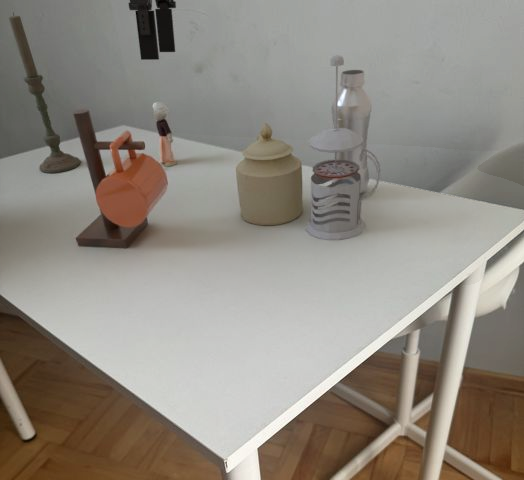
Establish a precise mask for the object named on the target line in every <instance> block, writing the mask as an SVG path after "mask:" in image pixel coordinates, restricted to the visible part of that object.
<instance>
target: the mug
mask: <svg viewBox="0 0 524 480" xmlns="http://www.w3.org/2000/svg"><path fill="white" fill-rule="evenodd" d="M126 141H134V140H133V137H132V133H131V131H129V130H124V131H123V132H122V133H121V134H120V135H119V136H118V137H117V138H115V139H114V142H112V143H111V144H110V146H109V148H110V150H109V151H110V155H111V159H112V162H113V165H114V168H113V169H112V170H110V172H109V173H108V174H106V177H105V178H104V179H103V180H102V181H101V182H100V184H99V185H98V187H97V189H96V195H95V200H96V203H97V207H98V208H100V209H99V211H100V210H101V212H102V213H103V214H104V215H105V216H106V217H107V218H108V219H109V220H110V221H112V222H113V223H115V224H117V225H119V226H122V227H135V226H138V225H139V224H141V223H142V222H143V221H144V219H145V218H146V217H147V218H148V215H150V213H152V211H153V210H154V208H155V207H156V205H158V203H159V202H160V201H161V199H162V198H163V197H164V195H165V194H166V193H167V192H168V191H167V190H168V186H169V181H168V176H167V172H166V171H165V169H164V167H163V166H162V163H161V162H160V163H159V161H158V160H157V159H155V158H154V157H153V156H151V155H148V154H145V153H143V152H136V150H127V153H128V155H126V156H125V157H124V158H123V159H121V155H120V153H119V150H118V148H119V147H120V146H121V145H122V144H123V143H125V142H126ZM101 212H100V213H101Z"/></svg>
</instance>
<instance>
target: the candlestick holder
mask: <svg viewBox="0 0 524 480" xmlns="http://www.w3.org/2000/svg"><path fill="white" fill-rule="evenodd" d="M8 21H9V24H10V27H11V31H12V33H13V37H14V40H15V43H16V47H17V50H18V52H19V56H20V59H21V62H22V65H23V68H24V72H25V74H26V76H25V77H23V81H24V83H26V84H27V85H28V87H27V91H28V92H29V94H31V95H33V96H34V97H35V103H36V109H37V111H38V112H39V114H40V116H41V120H42V124H43V126H44V128H45V135H44V136H43V141H44V143H45V144H46V146H47V147H49V149H50V154H49V156H47V157H45V159H44V160H43V162H42V163H40V165H39V170H40V171H41V172H42V173H45V174H57V173H64V172H68V171H71V170H73V169H75V168H77V167H79V166H80V165H81V160H80V158H79V157H77V156H74V155H72V154H70V153H65V152H63V151H62V150H61V147H60V144H61V136H60V135H59V133H56V132H55V131H54V129H53V127H52V122H51V121H52V120H51V119H50V116H49V112H48V104H47V103H46V101H45V98H44V96H43V94H44V92H45V91H46V88H45V86H44V84H43V83H42V82H43V79H44V77H43V75H42V74H39V73H38V71H37V68H36V64H35V60H34V58H33V54H32V50H31V48H30V44H29V41H28V38H27V35H26V34H27V33H26V31H25V28H24V25H23V22H22V18H21V16H20V15H15V11H12V16H9V17H8Z"/></svg>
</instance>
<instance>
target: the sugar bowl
mask: <svg viewBox="0 0 524 480" xmlns="http://www.w3.org/2000/svg"><path fill="white" fill-rule="evenodd" d="M272 136H273V129H272V127H271V126H270V125H269V124H268V123H266V122H265V123H264V124H263V125H262V126H261V129H260V134H258V135H257V136H256V141H253V142H252V143H250V144H249V145H248V146H246V147H245V148H244V149H243V150H242V153H241V155H242V157H244V158H243V159H242V160H240V161H239V162H238V163H237V164H236V166H235V172H236V173H235V175H236V187H237V196H238V204H239V211H240V216H241V218H242V219H243V220H244V221H245V222H247V223H249V224H251V225H257V226H277V225H284V224H286V223H290V222H292V221H295V220H296V219H298V218H299V217H300V216H301V215H302V213H303V209H304V207H303V206H304V203H303V201H304V200H303V199H304V198H303V165H302V160H300V158H298V157H297V156H295V155H293V154H292V153H293V152H294V148H293V146H291V145H290V144H288V143H287V142H285V141H284V140H282V139H279V138H271V137H272Z"/></svg>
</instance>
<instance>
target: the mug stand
mask: <svg viewBox="0 0 524 480" xmlns="http://www.w3.org/2000/svg"><path fill="white" fill-rule="evenodd" d="M72 117H73V119H74V124H75V127H76V131H77V135H78V137H79V141H80V144H81V148H82V151H83V156H84V159H85V162H86V167H87V169H88V173H89V177H90V180H91V183H92V187H93V191H94V195H95V196H96V189H97V187H98V185H99V184H100V182H101V181H102V180H103V179H104V178H105V177H106V176H107V174H106V170H105V166H104V162H103V159H102V155H101V151H110V148H109V146H110V144H111V143H112V142H114V141H115V140H114V141H109V140H108V141H101V140H100V141H98V139H97V136H96V132H95V128H94V124H93V119H92V116H91V111H90V109H87V108H81V109H76V110H74V111H72ZM145 149H146V143H145V142H144V141H143V140H142V141H141V140H138V141H136V140H135V141H134V140H133V141H126V142H125V143H123V144H122V145H121V146H120V147H119V148H118V151H128V150H135V151H144V150H145ZM98 208H99V207H98ZM99 212H100V214H99V215H98V216H97V217H96V218H95V219H94V220H93V221H92V222H91V223H90V224H89V225H88V226H86V227H85V228H84V229H83V230H82V231H81V232H80V233H79V234H78V235H77V236H76V237H75V240H76V243H77V247H96V248H97V247H98V248H116V249H117V248H118V249H127V248H129V246H130V245H131V244H132V243H133V242H134V241H135V240H136V239H137V238H138V237H139V235H140V234H141V233H142V232H143V231H144V230H145V228H146V227H148V225H149V221H148V216H147V217H146V218H145V219H144V221H143V222H142V223H141V224H139V225H138V226H135V227H122V226H119V225H117V224H115V223H113V222H112V221H110V220H109V219H108V218H107V217H106V216H105V215H104V214H103V213H102V212H101V210H100V208H99Z"/></svg>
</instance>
